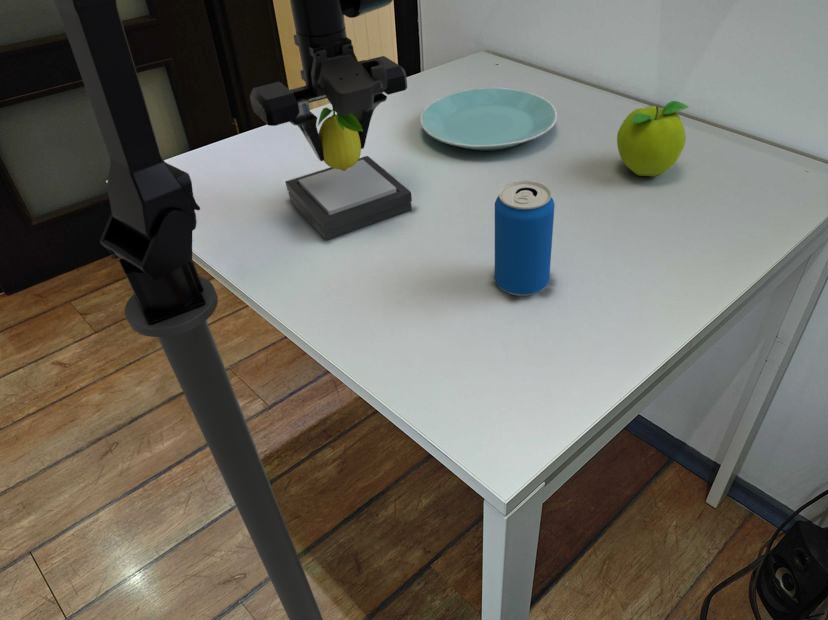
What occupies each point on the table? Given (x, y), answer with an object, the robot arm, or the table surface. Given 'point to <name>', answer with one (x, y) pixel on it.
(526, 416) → the table surface
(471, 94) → the plate
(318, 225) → the scale
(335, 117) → the lemon
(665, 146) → the fruit
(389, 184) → the scale pan
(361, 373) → the table surface
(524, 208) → the beverage can
